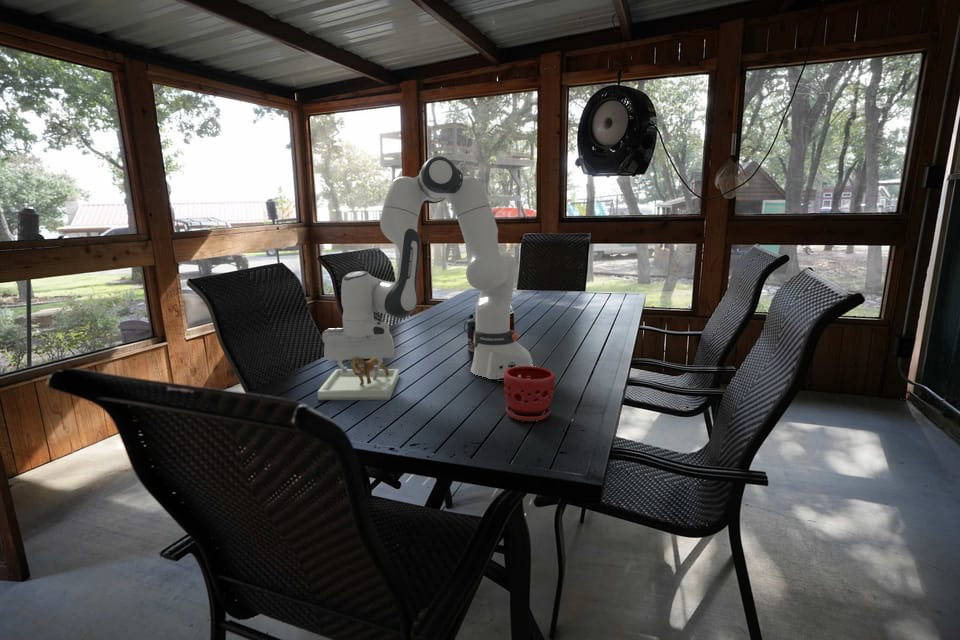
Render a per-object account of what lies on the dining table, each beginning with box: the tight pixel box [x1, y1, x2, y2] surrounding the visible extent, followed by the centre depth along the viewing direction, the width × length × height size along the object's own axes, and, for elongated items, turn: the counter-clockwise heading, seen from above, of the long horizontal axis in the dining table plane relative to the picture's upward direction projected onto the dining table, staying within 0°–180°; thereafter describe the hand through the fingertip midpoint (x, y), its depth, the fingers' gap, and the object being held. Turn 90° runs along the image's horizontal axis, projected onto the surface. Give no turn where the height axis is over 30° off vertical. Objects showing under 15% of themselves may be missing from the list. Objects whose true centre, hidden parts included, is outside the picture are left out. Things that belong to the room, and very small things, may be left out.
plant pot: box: [503, 366, 556, 421], centre depth 134 cm, size 13×13×12 cm
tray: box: [317, 368, 400, 401], centre depth 155 cm, size 20×20×2 cm
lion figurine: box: [350, 357, 389, 385], centre depth 156 cm, size 15×5×9 cm, turn 157°
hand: (360, 372), depth 154 cm, fingers open, 8 cm apart
